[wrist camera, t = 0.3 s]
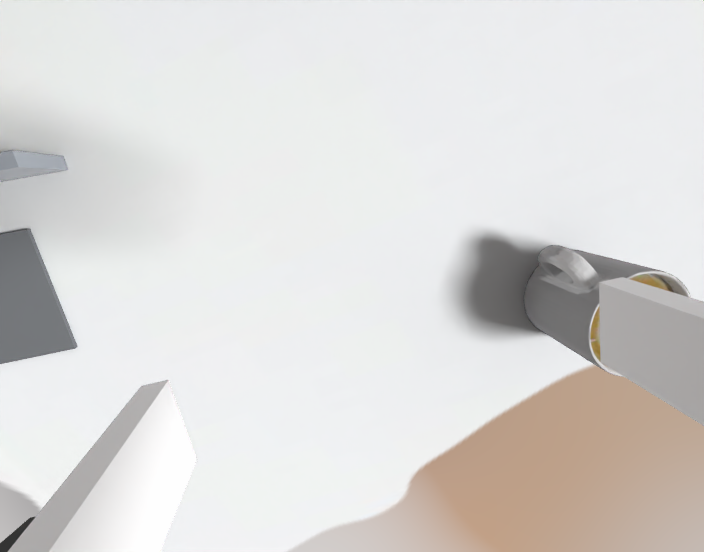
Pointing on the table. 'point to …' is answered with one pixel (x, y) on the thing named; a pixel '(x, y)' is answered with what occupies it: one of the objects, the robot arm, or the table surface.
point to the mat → (28, 303)
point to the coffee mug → (581, 295)
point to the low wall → (28, 164)
